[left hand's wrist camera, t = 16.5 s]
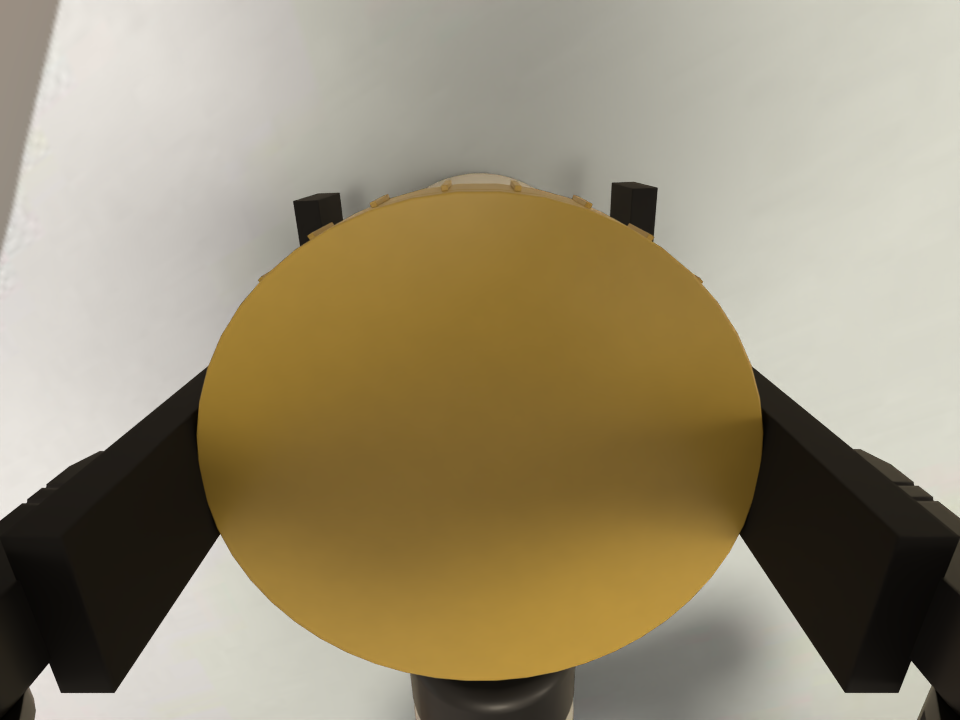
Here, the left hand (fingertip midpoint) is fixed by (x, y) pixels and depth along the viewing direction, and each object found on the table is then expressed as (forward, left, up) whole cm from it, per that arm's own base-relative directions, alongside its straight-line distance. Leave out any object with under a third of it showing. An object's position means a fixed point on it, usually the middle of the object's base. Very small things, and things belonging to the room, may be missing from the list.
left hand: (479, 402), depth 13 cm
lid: (0, 0, +3) cm, 3 cm away
